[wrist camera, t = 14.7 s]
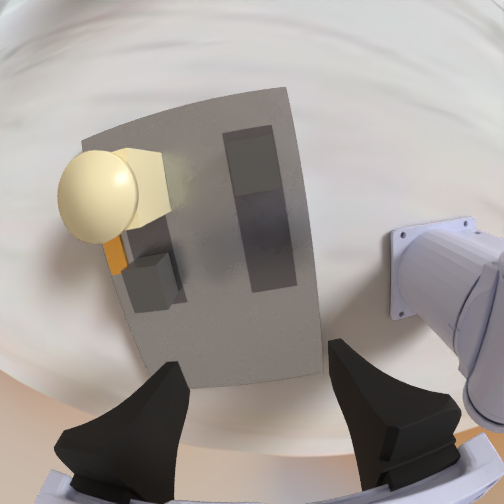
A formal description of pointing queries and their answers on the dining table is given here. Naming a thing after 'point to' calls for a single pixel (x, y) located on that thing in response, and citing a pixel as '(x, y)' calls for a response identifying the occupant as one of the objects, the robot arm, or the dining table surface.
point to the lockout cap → (112, 193)
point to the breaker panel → (223, 247)
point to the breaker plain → (253, 165)
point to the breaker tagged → (150, 283)
